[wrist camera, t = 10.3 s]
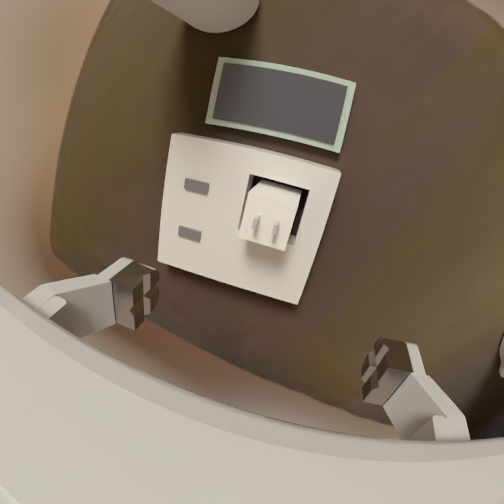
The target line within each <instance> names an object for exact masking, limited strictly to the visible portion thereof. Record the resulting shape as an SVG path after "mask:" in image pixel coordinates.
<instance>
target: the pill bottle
mask: <svg viewBox="0 0 504 504" xmlns="http://www.w3.org/2000/svg"><path fill="white" fill-rule="evenodd" d="M151 1H153V2H154V3H156V4H158V5H159V6H161V7H163V8H165V9H166V10H168V11H169V12H171V13H173V14H174V15H176V16H177V17H179V18H181V19H182V20H184V21H185V22H187V23H188V24H190V25H191V26H193V27H194V28H196V29H199V30H201V31H204V32H209V33H222V32H227V31H230V30H233V29H236V28H238V27H240V26H241V25H243V24H245V23H246V22H247V21H248V20H249V19H250V18H251V17H252V16H253V15H254V13H255V12H256V10H257V8H258V5H259V0H151Z"/></svg>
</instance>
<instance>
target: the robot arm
mask: <svg viewBox="0 0 504 504" xmlns="http://www.w3.org/2000/svg"><path fill="white" fill-rule="evenodd" d="M158 281H159V272H158V270H157V269H154V268H152V267H149V266H147V265H144V264H141V263H139V262H136V261H134V260H131V259H128V258H126V257H122V258H120V259H119V260H118V261H116V262H115V263H113V264H112V265H111V266H109V267H108V268H107V269H105V270H104V271H103V272H101V273H100V274H99V275H95V274H92V275H87V276H82V277H77V278H73V279H67V280H62V281H57V282H53V283H48V284H43V285H40V286H39V287H37V288H36V289H35V290H33V291H32V292H31V293H29V294H28V295H27V296H25V297H24V298H23V299H21V298H19V297H18V296H16V295H15V294H14V293H13V292H11V291H10V290H9V289H7V288H6V287H5V286H4V285H2V284H1V283H0V504H504V437H501V438H491V439H480V440H470V435H469V431H468V427H467V423H466V419H465V416H464V415H463V413H462V412H461V411H460V410H459V409H458V408H457V406H456V405H455V404H454V403H453V402H452V401H451V400H450V399H449V397H448V396H447V395H446V394H445V393H444V392H443V391H442V390H441V388H440V387H439V386H438V385H437V384H436V383H435V382H434V381H433V380H432V379H431V377H430V376H427V375H426V374H425V370H424V367H423V363H422V360H421V356H420V353H419V349H418V346H417V345H416V344H413V343H408V342H401V341H396V340H392V339H388V338H383V337H379V338H378V339H377V341H376V342H375V344H374V351H372V352H371V353H369V354H368V355H367V357H366V359H365V360H364V363H363V366H362V372H361V374H362V379H363V380H364V382H365V384H364V385H363V387H362V396H363V402H367V403H372V404H378V405H383V408H384V410H385V411H386V413H387V415H388V417H389V418H390V420H391V422H392V424H393V425H394V427H395V429H396V431H397V433H398V434H399V436H400V438H401V439H388V438H377V437H369V436H361V435H353V434H347V433H340V432H334V431H329V430H323V429H318V428H313V427H308V426H304V425H299V424H295V423H290V422H286V421H282V420H278V419H274V418H271V417H267V416H263V415H260V414H256V413H253V412H249V411H246V410H242V409H239V408H236V407H233V406H230V405H227V404H224V403H221V402H218V401H215V400H212V399H210V398H207V397H204V396H201V395H199V394H196V393H193V392H191V391H188V390H185V389H183V388H181V387H178V386H175V385H173V384H171V383H169V382H166V381H164V380H162V379H159V378H157V377H155V376H152V375H150V374H148V373H146V372H144V371H142V370H140V369H137V368H135V367H133V366H131V365H129V364H127V363H125V362H123V361H121V360H119V359H117V358H115V357H113V356H111V355H110V354H108V353H106V352H104V351H102V350H100V349H98V348H97V347H95V346H93V345H91V344H90V343H88V342H86V341H84V340H83V339H81V337H84V336H86V335H89V334H91V333H94V332H96V331H99V330H101V329H103V328H106V327H108V326H111V325H113V324H116V323H118V324H121V325H123V326H125V327H128V328H130V329H132V330H136V329H137V328H138V327H139V326H140V324H141V323H142V322H143V321H144V315H146V314H149V313H151V312H152V311H153V309H154V308H155V306H156V304H157V301H158V297H159V290H158V288H157V286H156V283H157V282H158ZM500 359H501V365H500V368H499V374H500V376H501V377H504V337H503V339H502V342H501V346H500Z"/></svg>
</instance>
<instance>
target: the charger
mask: <svg viewBox="0 0 504 504" xmlns="http://www.w3.org/2000/svg"><path fill="white" fill-rule="evenodd" d="M301 192H302V191H301V190H298V189H295V188H291V187H288V186H284V185H281V184H277V183H274V182H270V181H267V180H263V179H262V180H261V181H260V182H259V183H258V184H257V185H256V186H254V187H253V188H252V189H251V190H250V191H249V192H248V197H247V201H246V205H245V210H244V214H243V218H242V223H241V227H240V232H239V236H238V237H239V238H242V239H245V240H249V241H252V242H255V243H259V244H262V245H265V246H269V247H272V248H275V249H278V250H282V251H285V248H286V245H287V241H288V238H289V235H290V232H291V228H292V225H293V222H294V218H295V215H296V211H297V208H298V204H299V200H300V196H301Z"/></svg>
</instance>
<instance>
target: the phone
mask: <svg viewBox="0 0 504 504" xmlns="http://www.w3.org/2000/svg"><path fill="white" fill-rule="evenodd" d="M355 87H356V83H354V82H351V81H348V80H344V79H341V78H337V77H333V76H330V75H326V74H322V73H318V72H313V71H309V70H305V69H300V68H295V67H290V66H285V65H279V64H273V63H267V62H260V61H253V60H245V59H237V58H227V57H219V59H218V63H217V67H216V72H215V76H214V81H213V86H212V91H211V96H210V101H209V106H208V111H207V116H206V121H205V123H206V124H213V125H219V126H225V127H231V128H236V129H242V130H247V131H252V132H257V133H262V134H266V135H271V136H276V137H280V138H284V139H288V140H293V141H297V142H301V143H305V144H308V145H312V146H316V147H320V148H323V149H327V150H330V151H334V152H337V153H340V150H341V146H342V142H343V138H344V134H345V130H346V126H347V122H348V118H349V113H350V109H351V105H352V100H353V96H354V91H355Z"/></svg>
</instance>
